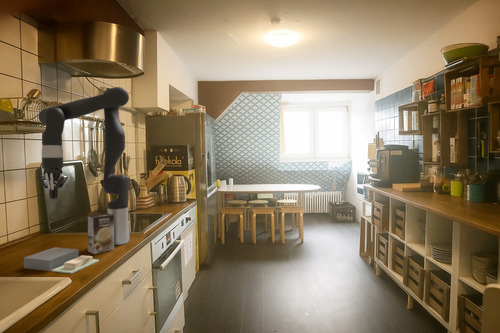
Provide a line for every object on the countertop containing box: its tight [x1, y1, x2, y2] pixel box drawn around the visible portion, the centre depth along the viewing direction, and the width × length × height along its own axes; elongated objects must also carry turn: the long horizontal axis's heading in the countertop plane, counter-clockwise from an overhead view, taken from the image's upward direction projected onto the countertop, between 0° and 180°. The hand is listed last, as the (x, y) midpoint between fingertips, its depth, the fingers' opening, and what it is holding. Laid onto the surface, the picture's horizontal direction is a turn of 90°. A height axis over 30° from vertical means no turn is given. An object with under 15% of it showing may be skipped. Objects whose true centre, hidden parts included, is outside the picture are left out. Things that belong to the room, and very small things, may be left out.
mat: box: [51, 258, 100, 274], centre depth 123 cm, size 14×9×1 cm, turn 165°
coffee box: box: [87, 213, 115, 255], centre depth 142 cm, size 9×6×16 cm
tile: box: [64, 255, 94, 269], centre depth 123 cm, size 9×5×2 cm, turn 167°
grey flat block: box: [23, 246, 80, 272], centre depth 125 cm, size 14×12×4 cm
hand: (53, 198), depth 130 cm, fingers closed
